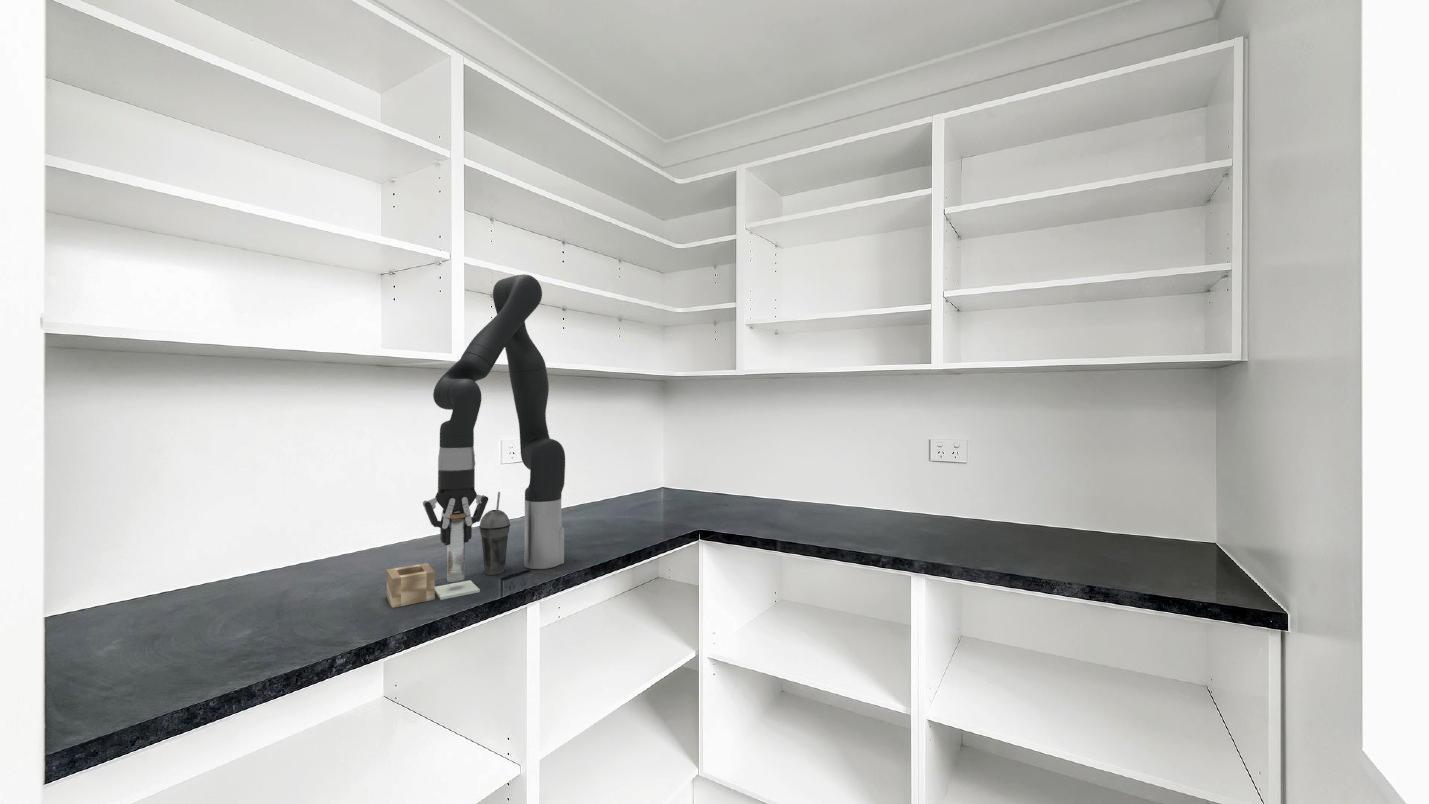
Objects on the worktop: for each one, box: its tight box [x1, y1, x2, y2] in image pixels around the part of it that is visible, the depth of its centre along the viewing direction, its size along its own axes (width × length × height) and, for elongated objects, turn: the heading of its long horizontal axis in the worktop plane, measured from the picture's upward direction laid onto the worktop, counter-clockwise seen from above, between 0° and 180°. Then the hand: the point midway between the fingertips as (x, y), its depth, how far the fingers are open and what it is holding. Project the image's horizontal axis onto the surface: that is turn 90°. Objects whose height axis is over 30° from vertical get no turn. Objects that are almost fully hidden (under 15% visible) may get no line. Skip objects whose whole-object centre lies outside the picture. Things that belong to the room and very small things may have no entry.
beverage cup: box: [478, 491, 511, 576], centre depth 139 cm, size 7×7×20 cm
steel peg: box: [446, 512, 467, 583], centre depth 125 cm, size 5×5×15 cm
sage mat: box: [435, 580, 481, 601], centre depth 125 cm, size 8×8×1 cm
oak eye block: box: [386, 562, 436, 609], centre depth 120 cm, size 8×8×6 cm
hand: (455, 542), depth 125 cm, fingers closed on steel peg, 3 cm apart
